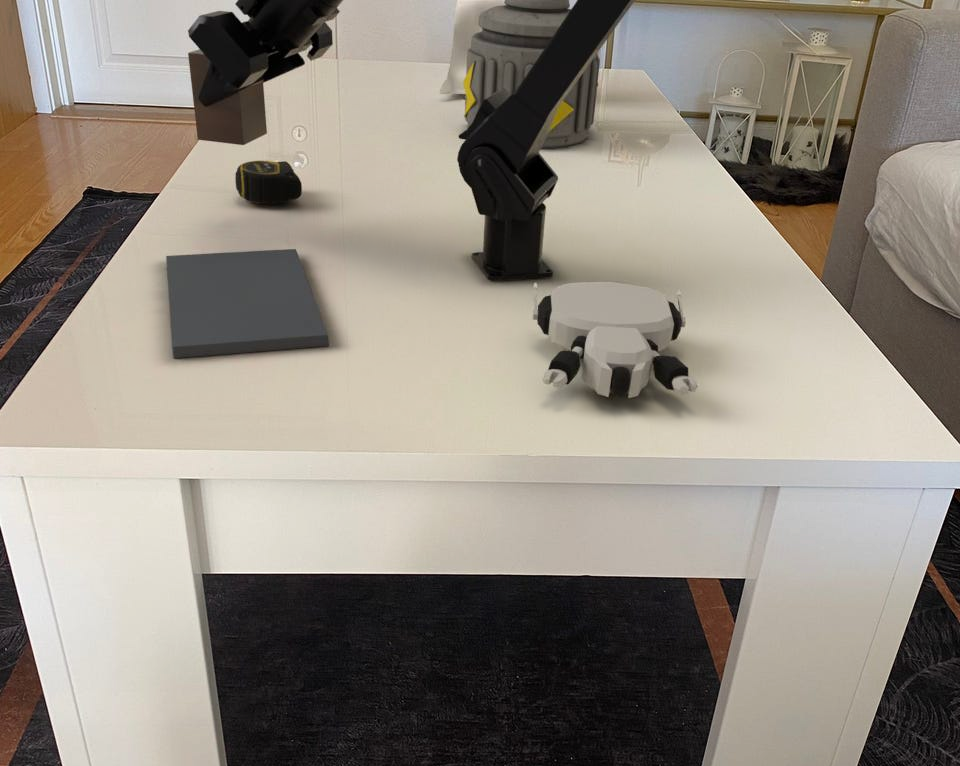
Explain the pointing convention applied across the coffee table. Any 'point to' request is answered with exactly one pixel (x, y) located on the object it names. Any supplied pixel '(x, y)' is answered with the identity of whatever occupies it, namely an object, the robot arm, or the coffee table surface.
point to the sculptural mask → (464, 41)
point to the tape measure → (267, 182)
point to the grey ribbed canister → (526, 64)
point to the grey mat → (241, 303)
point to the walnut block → (227, 109)
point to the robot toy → (612, 337)
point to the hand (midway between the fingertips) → (216, 97)
